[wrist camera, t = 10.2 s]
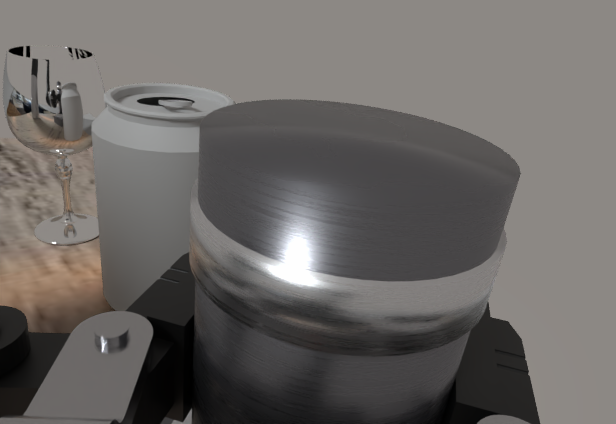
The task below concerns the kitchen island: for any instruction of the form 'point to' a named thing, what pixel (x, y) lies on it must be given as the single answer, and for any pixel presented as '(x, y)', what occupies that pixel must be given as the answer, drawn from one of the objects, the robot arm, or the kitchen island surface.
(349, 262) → the thermos
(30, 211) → the kitchen island surface
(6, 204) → the kitchen island surface
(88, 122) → the wineglass
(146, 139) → the can
